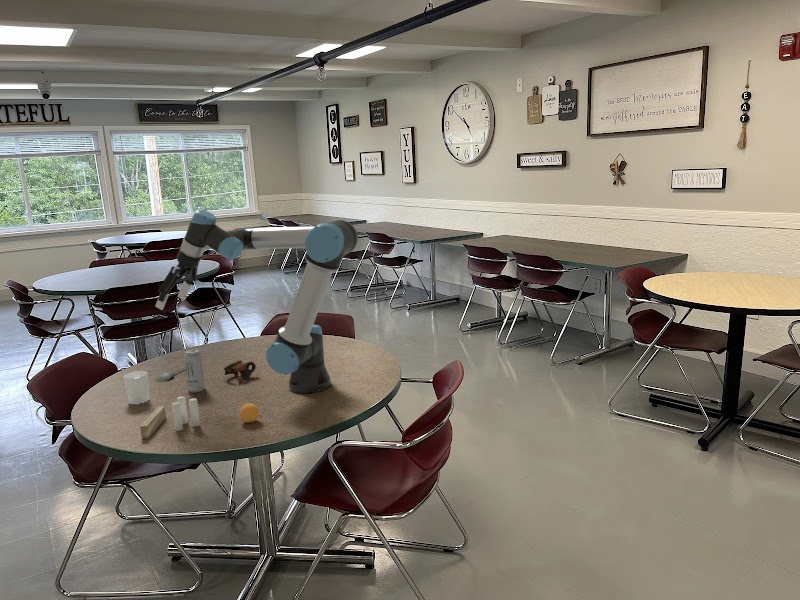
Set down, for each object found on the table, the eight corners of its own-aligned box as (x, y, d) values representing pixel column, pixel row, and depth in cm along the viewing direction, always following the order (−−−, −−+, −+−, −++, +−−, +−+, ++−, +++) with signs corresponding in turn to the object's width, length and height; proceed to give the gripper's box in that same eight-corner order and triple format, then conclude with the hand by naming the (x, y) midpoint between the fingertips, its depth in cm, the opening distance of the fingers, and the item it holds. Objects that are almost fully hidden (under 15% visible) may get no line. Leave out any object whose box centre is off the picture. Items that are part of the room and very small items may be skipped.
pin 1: (188, 421, 194) (185, 396, 193) (186, 424, 192) (183, 398, 190) (181, 421, 194) (178, 396, 193) (179, 424, 192) (175, 399, 190)
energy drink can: (184, 392, 221) (179, 353, 218) (195, 386, 227) (190, 348, 224) (198, 393, 219) (193, 354, 216) (208, 388, 224) (204, 349, 221)
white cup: (136, 406, 209) (132, 379, 207) (122, 403, 213) (118, 376, 211) (155, 399, 216) (152, 372, 213) (142, 395, 220) (138, 369, 218)
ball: (261, 417, 195) (259, 399, 193) (257, 425, 189) (256, 407, 187) (242, 418, 194) (240, 401, 193) (238, 426, 188) (236, 408, 187)
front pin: (200, 423, 192) (197, 398, 190) (198, 426, 190) (195, 400, 188) (193, 423, 192) (190, 398, 190) (191, 426, 190) (187, 401, 188)
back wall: (166, 417, 198) (164, 405, 197) (148, 438, 183) (146, 425, 182) (159, 417, 198) (158, 406, 197) (141, 438, 183) (140, 426, 182)
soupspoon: (151, 384, 236) (164, 386, 233) (150, 376, 235) (163, 378, 232) (189, 364, 255) (202, 366, 253) (188, 357, 255) (201, 359, 252)
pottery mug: (232, 386, 227) (222, 367, 227) (230, 390, 235) (220, 371, 236) (261, 372, 232) (251, 353, 232) (258, 376, 240) (249, 358, 241)
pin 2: (184, 427, 189) (181, 401, 188) (181, 430, 187) (178, 404, 185) (176, 427, 189) (173, 402, 188) (174, 431, 187) (170, 405, 185)
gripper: (201, 241, 221) (181, 289, 228) (160, 253, 197) (139, 306, 204) (218, 251, 220) (198, 299, 227) (179, 265, 197) (158, 318, 204)
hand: (170, 303), depth 216 cm, fingers open, 13 cm apart
